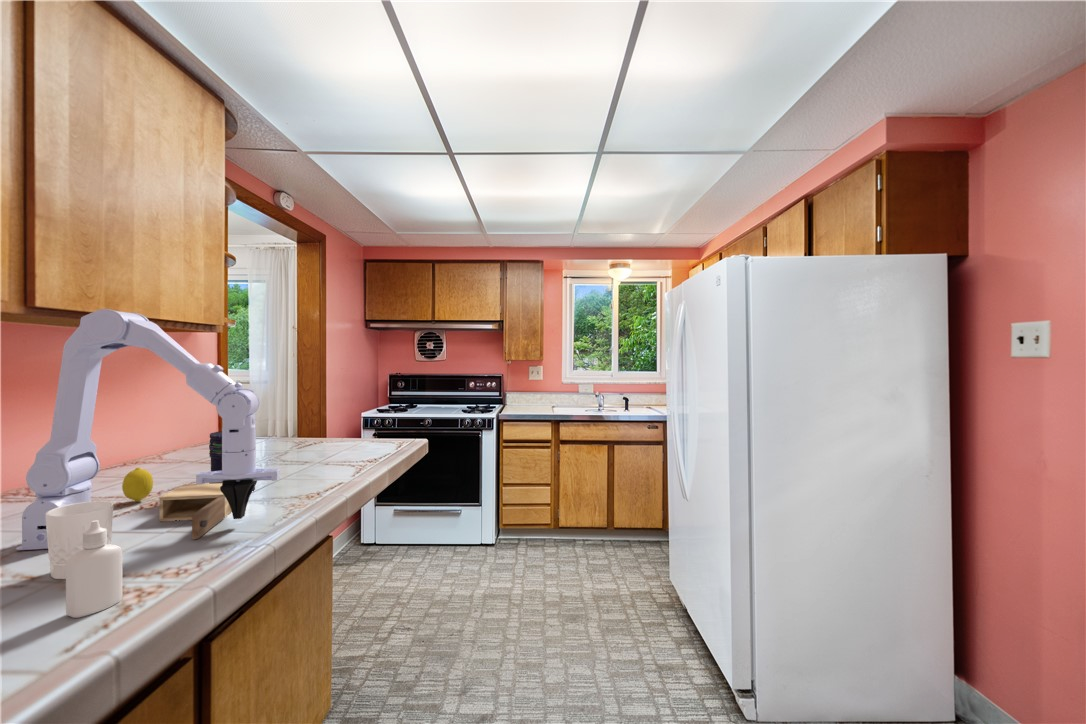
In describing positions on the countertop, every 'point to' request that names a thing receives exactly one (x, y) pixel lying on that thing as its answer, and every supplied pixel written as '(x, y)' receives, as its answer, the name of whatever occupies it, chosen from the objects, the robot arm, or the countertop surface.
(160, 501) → the cabinet
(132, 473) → the lemon
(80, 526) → the white cup
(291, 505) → the countertop surface
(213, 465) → the storage jar
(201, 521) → the door
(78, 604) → the eye dropper bottle
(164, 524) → the countertop surface
